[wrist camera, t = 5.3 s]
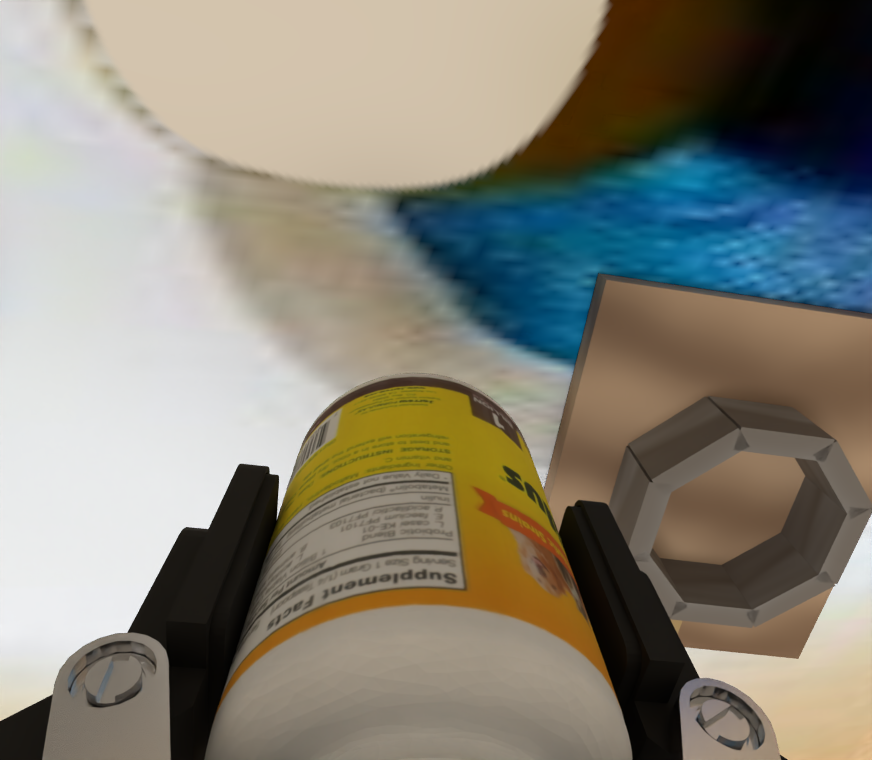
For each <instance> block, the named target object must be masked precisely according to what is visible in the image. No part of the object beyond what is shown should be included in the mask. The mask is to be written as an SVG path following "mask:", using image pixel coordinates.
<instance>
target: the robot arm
mask: <svg viewBox="0 0 872 760" xmlns="http://www.w3.org/2000/svg"><path fill="white" fill-rule="evenodd" d="M278 488H279V476H278V475H272V474H269V467H267V466H257V465H248V464H239V466H238V467H237V469H236V471H235V474H234V476H233V478H232V480H231V482H230V484H229V486H228V489H227V491H226V493H225V495H224V497H223V499H222V501H221V504H220V506H219V508H218V510H217V512H216V514H215V516H214V519H213V521H212V523H211V525H210V527H209V529H200V528H189V527H186V528H184V529H183V530H182V531H181V533H180V534H179V536H178V538H177V540H176V542H175V544H174V546H173V547H172V549H171V551H170V553H169V555H168V557H167V559H166V561H165V563H164V565H163V566H162V568H161V570H160V572H159V574H158V576H157V578H156V580H155V582H154V583H153V585H152V587H151V589H150V591H149V593H148V595H147V597H146V599H145V600H144V602H143V604H142V606H141V608H140V610H139V612H138V614H137V616H136V617H135V619H134V621H133V623H132V625H131V627H130V629H129V631H128V633H117V634H113V635H109V636H105V637H102V638H99V639H97V640H95V641H93V642H91V643H89V644H87V645H85V646H83V647H82V648H80V649H79V650H78V651H77V652H75V653H74V654H73V655H71V656H70V657H69V658H68V660H67V661H66V662H65V664H64V665H63V666H62V667H61V669H60V670H59V673H58V676H57V678H56V681H55V684H54V690H53V695H51V696H49V697H47V698H45V699H43V700H41V701H39V702H37V703H35V704H33V705H31V706H29V707H27V708H25V709H23V710H21V711H19V712H17V713H16V714H14V715H12V716H10V717H8V718H6V719H4V720H2V721H0V760H204V759H205V754H206V748H207V744H208V741H209V737H210V733H211V729H212V725H213V722H214V718H215V715H216V712H217V708H218V705H219V702H220V700H221V696H222V693H223V690H224V687H225V684H226V680H227V677H228V674H229V670H230V667H231V665H232V661H233V658H234V655H235V652H236V649H237V646H238V642H239V639H240V636H241V633H242V629H243V626H244V623H245V620H246V617H247V614H248V610H249V607H250V604H251V601H252V598H253V594H254V591H255V588H256V584H257V581H258V578H259V576H260V572H261V569H262V566H263V563H264V560H265V556H266V553H267V550H268V546H269V543H270V540H271V537H272V534H273V531H274V528H275V525H276V522H277V505H278ZM559 536H560V538H561V541H562V544H563V548H564V550H565V553H566V556H567V559H568V561H569V564H570V567H571V569H572V572H573V575H574V578H575V580H576V583H577V586H578V589H579V592H580V595H581V597H582V600H583V603H584V606H585V609H586V612H587V615H588V618H589V621H590V623H591V626H592V629H593V632H594V634H595V637H596V640H597V643H598V646H599V648H600V651H601V654H602V657H603V659H604V662H605V665H606V668H607V671H608V674H609V677H610V679H611V682H612V685H613V688H614V691H615V694H616V696H617V699H618V702H619V704H620V707H621V710H622V714H623V718H624V722H625V725H626V728H627V731H628V735H629V739H630V744H631V750H632V760H787V759H786V758H784V757H783V756H781V755H780V753H779V749H778V744H777V740H776V735H775V732H774V730H773V727H772V725H771V722H770V720H769V719H768V717H767V716H766V715H765V713H764V712H763V710H762V709H761V708H760V707H759V706H758V705H757V704H756V703H755V702H754V701H753V700H752V699H751V698H750V697H749V696H747V695H746V694H744V693H743V692H741V691H740V690H738V689H737V688H735V687H733V686H731V685H729V684H726V683H724V682H722V681H718V680H714V679H710V678H699V676H698V674H697V672H696V670H695V668H694V666H693V664H692V662H691V660H690V658H689V656H688V654H687V652H686V650H685V648H684V646H683V644H682V642H681V640H680V638H679V636H678V634H677V632H676V630H675V628H674V626H673V624H672V622H671V620H670V618H669V616H668V614H667V612H666V610H665V608H664V606H663V604H662V602H661V600H660V598H659V596H658V594H657V592H656V590H655V588H654V586H653V584H652V582H651V580H650V578H649V577H648V576H647V574H646V573H644V572H643V571H640V570H639V567H638V565H637V563H636V561H635V559H634V557H633V555H632V553H631V551H630V549H629V547H628V545H627V543H626V541H625V539H624V537H623V535H622V533H621V531H620V529H619V527H618V525H617V523H616V521H615V518H614V516H613V514H612V512H611V510H610V508H609V506H608V505H607V504H606V503H604V502H595V501H586V500H578V501H576V503H575V505H574V506H567V508H566V509H565V512H564V516H563V519H562V523H561V526H560V530H559Z"/></svg>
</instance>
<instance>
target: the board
mask: <svg viewBox="0 0 872 760" xmlns="http://www.w3.org/2000/svg"><path fill="white" fill-rule="evenodd" d="M544 493H545V496H546V499H547V501H548V504H549V507H550V510H551V513H552V516H553V519H554V522H555V524H556V527H557V530H558V533H559V530H560V526H561V523H562V519H563V516H564V512H565V509H566V508H567V506H574V505H575V503H576V501H578V500H586V501H595V502H604V503H606V504H607V505H608V506H609V508H610V510H611V512H612V514H613V516H614V518H615V521H616V523H617V525H618V527H619V529H620V531H621V533H622V535H623V537H624V539H625V541H626V543H627V545H628V547H629V549H630V551H631V553H632V555H633V557H634V559H635V561H636V563H637V565H638V567H639V570H640V571H643V572H644V573H646V574H647V576H648V577H649V578H650V580H651V582H652V584H653V586H654V588H655V590H656V592H657V594H658V596H659V598H660V600H661V602H662V604H663V606H664V608H665V610H666V612H667V614H668V616H669V618H670V620H671V622H672V624H673V626H674V628H675V630H676V632H677V634H678V636H679V638H680V640H681V642H682V644H683V646H684V647H689V648H699V649H709V650H719V651H728V652H738V653H748V654H757V655H767V656H777V657H787V658H796V659H798V658H799V656H800V654H801V652H802V650H803V648H804V646H805V644H806V642H807V640H808V638H809V635H810V633H811V631H812V629H813V627H814V625H815V623H816V621H817V619H818V617H819V615H820V613H821V611H822V609H823V607H824V605H825V603H826V601H827V598H828V596H829V594H830V592H831V590H832V588H833V587H834V586H835V585H834V584H837V583H838V581H839V579H840V577H841V575H842V573H843V571H844V569H845V567H846V565H847V563H848V561H849V559H850V557H851V555H852V553H853V551H854V549H855V547H856V545H857V543H858V540H859V538H860V536H861V534H862V532H863V530H864V528H865V526H866V524H867V522H868V520H869V518H870V516H871V514H872V314H868V313H862V312H855V311H848V310H842V309H835V308H828V307H821V306H815V305H808V304H801V303H794V302H788V301H781V300H774V299H768V298H761V297H754V296H747V295H741V294H734V293H727V292H721V291H714V290H707V289H700V288H694V287H687V286H680V285H673V284H667V283H660V282H653V281H647V280H640V279H633V278H626V277H620V276H613V275H606V274H599V273H598V277H597V281H596V285H595V289H594V293H593V297H592V301H591V305H590V309H589V313H588V317H587V321H586V325H585V329H584V333H583V337H582V341H581V345H580V349H579V353H578V357H577V361H576V365H575V369H574V373H573V377H572V380H571V384H570V388H569V392H568V396H567V400H566V404H565V408H564V412H563V416H562V420H561V424H560V428H559V432H558V436H557V440H556V444H555V448H554V452H553V456H552V460H551V464H550V468H549V472H548V476H547V480H546V484H545V488H544Z"/></svg>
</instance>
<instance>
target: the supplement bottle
mask: <svg viewBox="0 0 872 760" xmlns="http://www.w3.org/2000/svg"><path fill="white" fill-rule="evenodd" d="M204 760H632V750H631V744H630V739H629V735H628V731H627V728H626V725H625V722H624V718H623V714H622V710H621V707H620V704H619V702H618V699H617V696H616V694H615V691H614V688H613V685H612V682H611V679H610V677H609V674H608V671H607V668H606V665H605V662H604V659H603V657H602V654H601V651H600V648H599V646H598V643H597V640H596V637H595V634H594V632H593V629H592V626H591V623H590V621H589V618H588V615H587V612H586V609H585V606H584V603H583V600H582V597H581V595H580V592H579V589H578V586H577V583H576V580H575V578H574V575H573V572H572V569H571V567H570V564H569V561H568V559H567V556H566V553H565V550H564V548H563V544H562V541H561V538H560V536H559V533H558V530H557V527H556V524H555V522H554V519H553V516H552V513H551V510H550V507H549V504H548V501H547V499H546V496H545V493H544V490H543V487H542V485H541V482H540V479H539V476H538V474H537V471H536V468H535V466H534V463H533V460H532V457H531V454H530V452H529V449H528V447H527V445H526V442H525V440H524V438H523V436H522V434H521V432H520V430H519V428H518V427H517V425H516V424H515V422H514V421H513V419H512V418H511V417H510V416H509V415H508V413H507V412H506V411H505V410H504V409H503V408H502V407H501V406H500V405H499V404H498V403H496V402H495V401H494V400H493V399H492V398H490V397H489V396H488V395H486V394H485V393H483V392H482V391H480V390H479V389H477V388H475V387H473V386H471V385H469V384H467V383H464V382H462V381H459V380H456V379H453V378H449V377H446V376H440V375H435V374H425V373H405V374H395V375H390V376H385V377H381V378H378V379H374V380H371V381H369V382H366V383H364V384H361V385H359V386H357V387H355V388H353V389H351V390H350V391H348V392H346V393H345V394H343V395H342V396H340V397H339V398H338V399H336V400H335V401H334V402H333V403H331V404H330V405H329V406H328V407H327V408H326V409H325V410H324V411H323V412H322V413H321V415H320V416H319V417H318V418H317V419H316V421H315V422H314V423H313V425H312V426H311V428H310V430H309V431H308V433H307V435H306V436H305V439H304V441H303V443H302V446H301V449H300V452H299V454H298V456H297V460H296V463H295V466H294V469H293V472H292V475H291V478H290V481H289V484H288V487H287V491H286V494H285V497H284V500H283V503H282V506H281V509H280V512H279V515H278V518H277V522H276V525H275V528H274V531H273V534H272V537H271V540H270V543H269V546H268V550H267V553H266V556H265V560H264V563H263V566H262V569H261V572H260V576H259V578H258V581H257V584H256V588H255V591H254V594H253V598H252V601H251V604H250V607H249V610H248V614H247V617H246V620H245V623H244V626H243V629H242V633H241V636H240V639H239V642H238V646H237V649H236V652H235V655H234V658H233V661H232V665H231V667H230V670H229V674H228V677H227V680H226V684H225V687H224V690H223V693H222V696H221V700H220V702H219V705H218V708H217V712H216V715H215V718H214V722H213V725H212V729H211V733H210V737H209V741H208V744H207V748H206V754H205V759H204Z"/></svg>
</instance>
